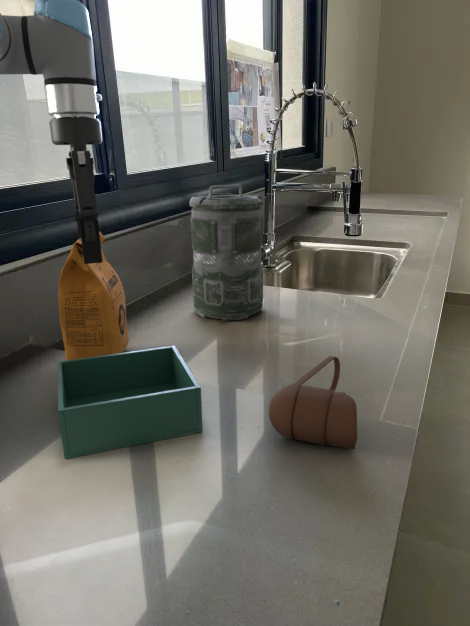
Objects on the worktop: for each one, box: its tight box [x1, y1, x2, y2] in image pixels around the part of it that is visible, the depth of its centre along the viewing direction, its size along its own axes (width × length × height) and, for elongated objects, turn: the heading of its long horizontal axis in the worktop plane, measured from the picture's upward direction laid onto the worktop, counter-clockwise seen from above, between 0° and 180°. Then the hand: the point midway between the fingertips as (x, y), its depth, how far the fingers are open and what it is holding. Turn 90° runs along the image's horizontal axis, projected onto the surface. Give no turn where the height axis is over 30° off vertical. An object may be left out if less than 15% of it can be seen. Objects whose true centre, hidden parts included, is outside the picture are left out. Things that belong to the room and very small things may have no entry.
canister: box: [188, 184, 264, 322], centre depth 109 cm, size 16×16×28 cm
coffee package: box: [58, 231, 130, 361], centre depth 85 cm, size 10×12×22 cm
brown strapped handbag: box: [268, 355, 358, 450], centre depth 67 cm, size 18×12×7 cm, turn 157°
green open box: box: [56, 345, 204, 460], centre depth 68 cm, size 17×15×6 cm
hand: (90, 254), depth 82 cm, fingers open, 13 cm apart
